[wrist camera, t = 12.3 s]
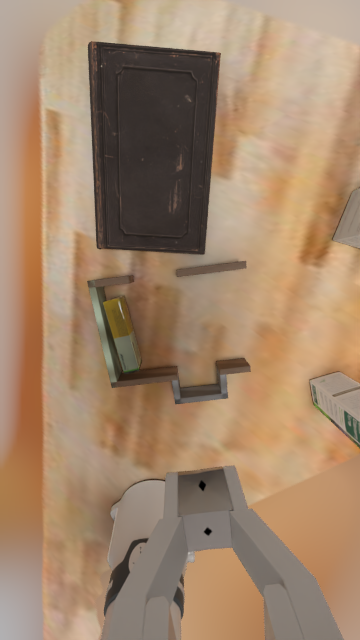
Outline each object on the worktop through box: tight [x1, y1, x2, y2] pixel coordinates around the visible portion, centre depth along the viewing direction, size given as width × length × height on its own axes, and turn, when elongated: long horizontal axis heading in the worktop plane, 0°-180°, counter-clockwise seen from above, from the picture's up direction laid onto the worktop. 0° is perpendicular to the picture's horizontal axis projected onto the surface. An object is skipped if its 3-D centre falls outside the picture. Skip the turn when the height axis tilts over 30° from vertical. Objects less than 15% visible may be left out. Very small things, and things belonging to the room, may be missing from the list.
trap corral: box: [87, 261, 251, 404], centre depth 32 cm, size 22×23×3 cm
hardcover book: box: [88, 41, 221, 254], centre depth 27 cm, size 16×23×2 cm
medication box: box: [103, 296, 142, 374], centre depth 32 cm, size 12×3×4 cm, turn 12°
